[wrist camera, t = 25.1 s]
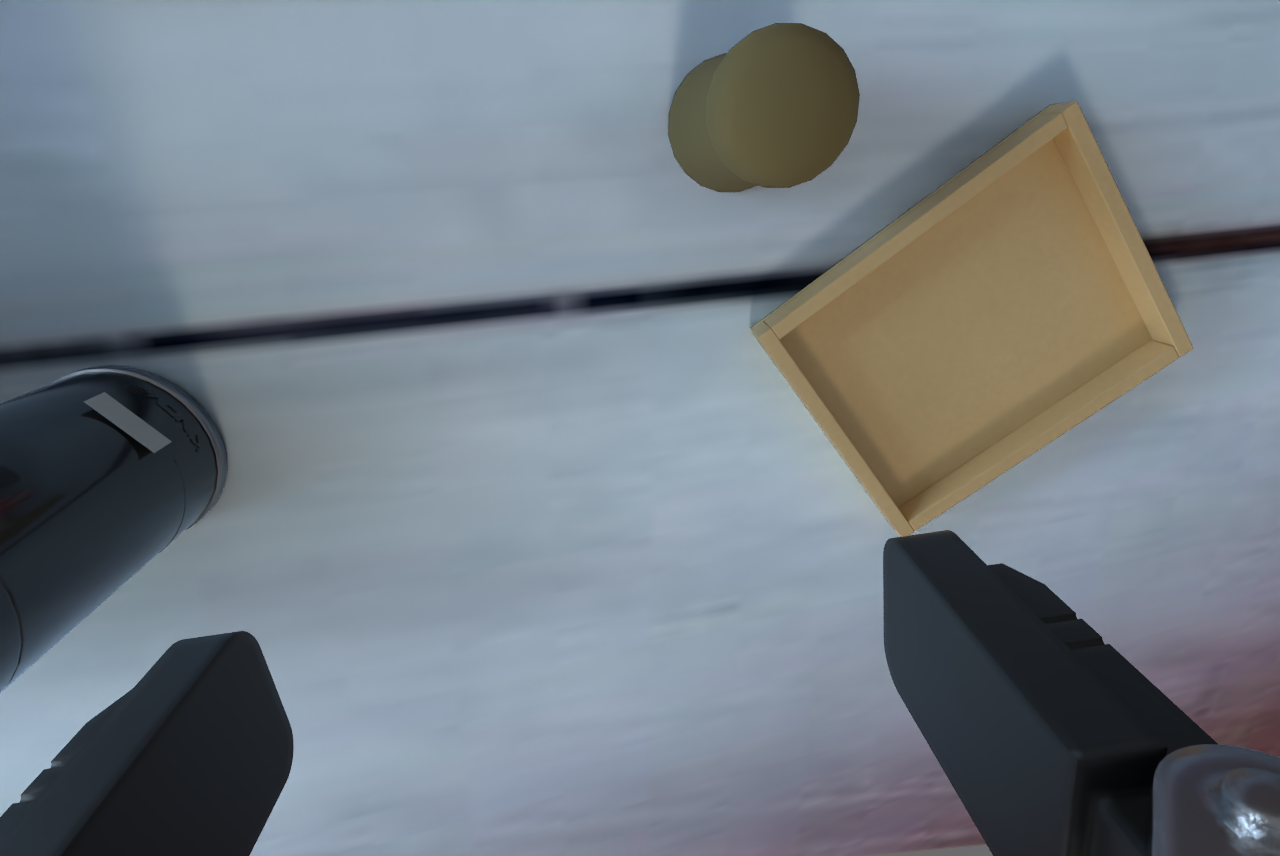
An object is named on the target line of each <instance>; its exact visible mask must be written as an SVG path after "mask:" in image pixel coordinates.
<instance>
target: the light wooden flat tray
mask: <svg viewBox="0 0 1280 856" xmlns="http://www.w3.org/2000/svg"><path fill="white" fill-rule="evenodd" d="M750 331H751V332H752V333H753V335H754V336H755V338H756V339H757V340H758V342H759V343H760V345H761V346H762V347H763V349H764V350H765V351H766V353H767V354H768V356H769V357H770V358H771V360H772V361H773V363H774V364H775V365H776V367H777V368H778V370H779V371H780V372H781V374H782V375H783V377H784V378H785V379H786V381H787V382H788V383H789V385H790V386H791V388H792V389H793V390H794V392H795V393H796V395H797V396H798V397H799V399H800V400H801V402H802V403H803V404H804V406H805V407H806V408H807V410H808V411H809V413H810V414H811V415H812V417H813V418H814V420H815V421H816V422H817V424H818V425H819V427H820V428H821V429H822V431H823V432H824V434H825V435H826V436H827V438H828V439H829V440H830V442H831V443H832V445H833V446H834V447H835V449H836V450H837V452H838V453H839V454H840V456H841V457H842V459H843V460H844V461H845V463H846V464H847V465H848V467H849V468H850V470H851V471H852V472H853V474H854V475H855V477H856V478H857V479H858V481H859V482H860V484H861V485H862V486H863V488H864V489H865V491H866V492H867V493H868V495H869V496H870V497H871V499H872V500H873V502H874V503H875V504H876V506H877V507H878V509H879V510H880V511H881V513H882V514H883V516H884V517H885V518H886V520H887V521H888V522H889V524H890V525H891V526H892V527H893V528H894V530H895V531H896V532H897V533H898V534H899V536H900V537H904V536H908V535H910V534H912V533H913V532H914V530H917V529H919V528H920V527H922V526H924V525H925V524H927V523H928V522H930V521H931V520H933V519H934V518H936V517H937V516H939V515H940V514H942V513H943V512H945V511H946V510H948V509H949V508H951V507H952V506H954V505H956V504H957V503H959V502H960V501H962V500H963V499H965V498H966V497H968V496H969V495H971V494H972V493H974V492H975V491H977V490H978V489H980V488H981V487H983V486H984V485H986V484H988V483H989V482H991V481H992V480H994V479H995V478H997V477H998V476H1000V475H1001V474H1003V473H1004V472H1006V471H1007V470H1009V469H1010V468H1012V467H1013V466H1015V465H1016V464H1018V463H1020V462H1021V461H1023V460H1024V459H1026V458H1027V457H1029V456H1030V455H1032V454H1033V453H1035V452H1036V451H1038V450H1039V449H1041V448H1042V447H1044V446H1045V445H1047V444H1048V443H1050V442H1052V441H1053V440H1055V439H1056V438H1058V437H1059V436H1061V435H1062V434H1064V433H1065V432H1067V431H1068V430H1070V429H1071V428H1073V427H1074V426H1076V425H1077V424H1079V423H1080V422H1082V421H1084V420H1085V419H1087V418H1088V417H1090V416H1091V415H1093V414H1094V413H1096V412H1097V411H1099V410H1100V409H1102V408H1103V407H1105V406H1106V405H1108V404H1109V403H1111V402H1112V401H1114V400H1115V399H1117V398H1119V397H1120V396H1122V395H1123V394H1125V393H1126V392H1128V391H1129V390H1131V389H1132V388H1134V387H1135V386H1137V385H1138V384H1140V383H1141V382H1143V381H1144V380H1146V379H1147V378H1149V377H1151V376H1152V375H1154V374H1155V373H1157V372H1158V371H1160V370H1161V369H1163V368H1164V367H1166V366H1167V365H1169V364H1170V363H1172V362H1173V361H1175V360H1176V359H1178V358H1179V357H1181V356H1183V355H1184V354H1186V353H1187V352H1189V351H1190V350H1192V349H1193V346H1192V344H1191V342H1190V340H1189V337H1188V335H1187V333H1186V331H1185V329H1184V327H1183V325H1182V323H1181V320H1180V318H1179V316H1178V314H1177V312H1176V310H1175V308H1174V306H1173V304H1172V301H1171V299H1170V297H1169V295H1168V293H1167V291H1166V289H1165V287H1164V284H1163V282H1162V280H1161V278H1160V276H1159V274H1158V272H1157V270H1156V267H1155V265H1154V263H1153V261H1152V259H1151V257H1150V255H1149V253H1148V251H1147V248H1146V246H1145V244H1144V242H1143V240H1142V238H1141V236H1140V234H1139V231H1138V229H1137V227H1136V225H1135V223H1134V221H1133V219H1132V217H1131V214H1130V212H1129V210H1128V208H1127V206H1126V204H1125V202H1124V200H1123V198H1122V195H1121V193H1120V191H1119V189H1118V187H1117V185H1116V183H1115V181H1114V178H1113V176H1112V174H1111V172H1110V170H1109V168H1108V166H1107V164H1106V161H1105V159H1104V157H1103V155H1102V153H1101V151H1100V149H1099V147H1098V144H1097V142H1096V140H1095V138H1094V136H1093V134H1092V132H1091V130H1090V128H1089V125H1088V123H1087V121H1086V119H1085V117H1084V115H1083V113H1082V111H1081V108H1080V106H1079V104H1078V102H1077V101H1074V102H1067V103H1060V104H1051V105H1049V106H1048V107H1046V108H1045V109H1044V110H1042V111H1041V112H1040V113H1038V114H1037V115H1036V116H1034V117H1033V118H1032V119H1030V120H1029V121H1028V122H1026V123H1025V124H1024V125H1022V126H1021V127H1020V128H1018V129H1017V130H1016V131H1014V132H1013V133H1012V134H1010V135H1009V136H1008V137H1006V138H1005V139H1004V140H1002V141H1001V142H1000V143H998V144H997V145H995V146H994V147H993V148H991V149H990V150H989V151H987V152H986V153H985V154H983V155H982V156H981V157H979V158H978V159H977V160H975V161H974V162H973V163H971V164H970V165H969V166H967V167H966V168H965V169H963V170H962V171H961V172H959V173H958V174H957V175H955V176H954V177H953V178H951V179H950V180H949V181H947V182H946V183H945V184H943V185H942V186H940V187H939V188H938V189H936V190H935V191H934V192H932V193H931V194H930V195H928V196H927V197H926V198H924V199H923V200H922V201H920V202H919V203H918V204H916V205H915V206H914V207H912V208H911V209H910V210H908V211H907V212H906V213H904V214H903V215H902V216H900V217H899V218H898V219H896V220H895V221H894V222H892V223H891V224H890V225H888V226H887V227H885V228H884V229H883V230H881V231H880V232H879V233H877V234H876V235H875V236H873V237H872V238H871V239H869V240H868V241H867V242H865V243H864V244H863V245H861V246H860V247H859V248H857V249H856V250H855V251H853V252H852V253H851V254H849V255H848V256H847V257H845V258H844V259H843V260H841V261H840V262H839V263H837V264H836V265H835V266H833V267H832V268H830V269H829V270H828V271H826V272H825V273H824V274H822V275H821V276H820V277H818V278H817V279H816V280H814V281H813V282H812V283H810V284H809V285H808V286H806V287H805V288H804V289H802V290H801V291H800V292H798V293H797V294H796V295H794V296H793V297H792V298H790V299H789V300H788V301H786V302H785V303H784V304H782V305H781V306H779V307H778V308H777V309H775V310H774V311H773V312H771V313H770V314H769V315H767V316H766V317H765V318H763V319H762V320H761V321H759V322H758V323H757V324H755V325H754V326H753V327H751V328H750Z"/></svg>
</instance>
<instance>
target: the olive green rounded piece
mask: <svg viewBox="0 0 1280 856" xmlns="http://www.w3.org/2000/svg"><path fill="white" fill-rule="evenodd" d="M859 96H860V94H859V89H858V84H857V79H856V73H855V70H854V68H853V66H852V64H851V62H850V60H849V59H848V57H847V55H846V53H845V51H844V49H843V48H842V47H840V46H839V45H838V44H837V43H836V42H835V41H834V40H833V39H832V38H831V37H830V36H828V35H827V34H826V33H824V32H822V31H819V30H817V29H814V28H811V27H809V26H806V25H804V24H801V23H775V24H772V25H769V26H767V27H764V28H761V29H758V30H755V31H753V32H751V33H750V34H749V35H748V36H746V37H745V38H744V39H742V40H741V41H740V42H739V43H737V44H736V45H735V46H734V47H732V48H731V49H730V50H729V52H728V53H724V54H722V55H719V56H716V57H713V58H710V59H707V60H705V61H703V62H702V63H701V64H700V65H698V66H697V67H696V68H694V69H693V70H692V71H691V72H689V73H688V74H687V76H686V77H685V79H684V80H683V82H682V83H681V84H680V86H679V87H678V89H677V90H676V92H675V95H674V98H673V101H672V104H671V108H670V111H669V125H668V136H669V140H670V143H671V147H672V150H673V154H674V157H675V158H676V160H677V161H678V163H679V164H680V166H681V167H682V169H683V170H684V172H685V173H686V174H687V175H688V176H690V177H691V178H692V179H693V180H695V181H696V182H697V183H698V184H700V185H701V186H704V187H707V188H709V189H712V190H715V191H718V192H740V191H743V190H746V189H749V188H751V187H754V186H757V185H759V186H762V187H766V188H790V187H792V186H795V185H798V184H801V183H804V182H807V181H810V180H812V179H813V178H815V177H816V176H817V175H819V174H820V173H822V172H823V171H824V170H826V169H827V168H828V167H830V166H831V165H832V164H833V162H834V161H835V160H836V159H837V157H838V156H839V155H840V153H841V152H842V151H843V149H844V148H845V147H846V145H847V144H848V142H849V139H850V137H851V134H852V132H853V129H854V127H855V124H856V122H857V116H858V106H859Z"/></svg>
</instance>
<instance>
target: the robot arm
mask: <svg viewBox="0 0 1280 856" xmlns="http://www.w3.org/2000/svg"><path fill="white" fill-rule="evenodd" d="M226 474H227V460H226V453H225V449H224V445H223V442H222V439H221V437H220V434H219V432H218V430H217V428H216V427H215V425H214V423H213V421H212V420H211V419H210V417H209V416H208V414H207V413H206V412H205V411H204V409H203V408H202V407H201V406H200V405H199V404H198V403H197V402H196V401H195V400H194V399H193V398H192V397H191V396H189V395H188V394H187V393H186V392H184V391H183V390H182V389H180V388H179V387H177V386H176V385H174V384H172V383H171V382H169V381H167V380H165V379H163V378H161V377H159V376H157V375H154V374H152V373H149V372H146V371H143V370H139V369H135V368H130V367H124V366H96V367H90V368H86V369H82V370H79V371H76V372H73V373H71V374H68V375H66V376H64V377H61V378H59V379H57V380H55V381H54V382H52V383H51V384H49V385H47V386H44V387H41V388H39V389H36V390H34V391H31V392H29V393H26V394H24V395H21V396H18V397H15V398H13V399H10V400H8V401H5V402H3V403H0V693H1V692H2V691H3V690H5V689H6V688H7V687H8V686H9V685H10V684H11V683H12V682H14V681H15V680H16V679H17V678H18V677H19V676H20V675H21V674H23V673H24V672H25V671H26V670H27V669H28V668H29V667H31V666H32V665H33V664H34V663H35V662H36V661H37V660H38V659H40V658H41V657H42V656H43V655H44V654H45V653H46V652H48V651H49V650H50V649H51V648H52V647H53V646H54V645H55V644H57V643H58V642H59V641H60V640H61V639H62V638H63V637H64V636H66V635H67V634H68V633H69V632H70V631H71V630H72V629H74V628H75V627H76V626H77V625H78V624H79V623H80V622H81V621H83V620H84V619H85V618H86V617H87V616H88V615H89V614H90V613H92V612H93V611H94V610H95V609H96V608H97V607H98V606H100V605H101V604H102V603H103V602H104V601H105V600H106V599H107V598H109V597H110V596H111V595H112V594H113V593H114V592H115V591H116V590H118V589H119V588H120V587H121V586H122V585H123V584H124V583H126V582H127V581H128V580H129V579H130V578H131V577H132V576H133V575H135V574H136V573H137V572H138V571H139V570H140V569H141V568H142V567H144V566H145V565H146V564H147V563H148V562H149V561H150V560H152V559H153V558H154V557H155V556H156V555H157V554H158V553H160V552H161V551H162V550H163V549H164V548H166V547H167V546H168V545H169V544H170V543H171V542H172V541H173V540H174V539H176V538H177V537H178V536H179V535H180V534H181V533H182V532H183V531H185V530H186V529H188V528H190V527H191V526H193V525H194V524H195V523H197V522H198V521H199V520H200V519H201V518H202V517H204V516H205V515H206V514H207V513H208V512H209V511H210V510H211V509H212V508H213V506H214V505H215V504H216V502H217V501H218V499H219V497H220V495H221V493H222V491H223V488H224V485H225V481H226ZM883 583H884V647H885V654H886V659H887V663H888V667H889V671H890V674H891V677H892V680H893V682H894V685H895V687H896V689H897V691H898V693H899V695H900V696H901V698H902V700H903V702H904V703H905V705H906V707H907V708H908V710H909V712H910V714H911V715H912V717H913V719H914V720H915V722H916V724H917V726H918V727H919V729H920V731H921V732H922V734H923V736H924V738H925V739H926V741H927V743H928V744H929V746H930V748H931V750H932V751H933V753H934V755H935V756H936V758H937V760H938V762H939V763H940V765H941V767H942V768H943V770H944V772H945V774H946V775H947V777H948V779H949V780H950V782H951V784H952V786H953V787H954V789H955V791H956V792H957V794H958V796H959V798H960V799H961V801H962V803H963V804H964V806H965V808H966V810H967V811H968V813H969V815H970V816H971V818H972V820H973V822H974V823H975V825H976V827H977V828H978V830H979V832H980V834H981V835H982V837H983V839H984V840H985V842H986V844H987V846H988V847H989V849H990V851H991V852H992V854H993V856H1280V758H1279V757H1276V756H1273V755H1269V754H1266V753H1263V752H1260V751H1256V750H1251V749H1247V748H1242V747H1237V746H1229V745H1221V744H1217V743H1216V742H1215V741H1214V740H1213V739H1212V738H1211V737H1210V736H1209V735H1208V734H1207V733H1205V732H1204V731H1203V730H1202V729H1201V728H1200V727H1199V726H1198V725H1197V724H1196V723H1195V722H1193V721H1192V720H1191V719H1190V718H1189V717H1188V716H1187V715H1186V714H1185V713H1184V712H1183V711H1182V710H1180V709H1179V708H1178V707H1177V706H1176V705H1175V704H1174V703H1173V702H1172V701H1171V700H1170V699H1168V698H1167V697H1166V696H1165V695H1164V694H1163V693H1162V692H1161V691H1160V690H1159V689H1158V688H1157V687H1155V686H1154V685H1153V684H1152V683H1151V682H1150V681H1149V680H1148V679H1147V678H1146V677H1145V676H1143V675H1142V674H1141V673H1140V672H1139V671H1138V670H1137V669H1136V668H1135V667H1134V666H1133V665H1132V664H1130V663H1129V662H1128V661H1127V660H1126V659H1125V658H1124V657H1123V656H1122V655H1121V654H1120V653H1118V652H1117V651H1116V650H1115V649H1114V648H1113V647H1112V646H1111V645H1110V644H1106V645H1105V644H1104V643H1103V640H1102V637H1101V636H1100V635H1099V634H1098V633H1097V632H1096V631H1095V630H1093V629H1092V628H1091V627H1090V626H1089V625H1088V624H1087V623H1086V622H1085V621H1084V620H1083V619H1077V617H1076V613H1075V612H1074V611H1073V610H1072V609H1071V608H1070V607H1068V606H1067V605H1066V604H1065V603H1064V602H1063V601H1062V600H1061V599H1060V598H1059V597H1058V596H1057V595H1055V594H1054V593H1053V592H1052V591H1051V590H1050V589H1049V588H1048V587H1047V586H1046V585H1044V584H1042V583H1040V582H1038V581H1036V580H1034V579H1032V578H1030V577H1028V576H1026V575H1024V574H1022V573H1020V572H1018V571H1016V570H1014V569H1012V568H1010V567H1008V566H1006V565H1004V564H995V565H988V566H987V565H986V564H985V563H984V562H983V561H982V560H981V559H980V558H979V557H978V556H977V555H976V554H975V553H974V552H973V551H972V550H971V549H970V548H969V547H968V546H967V545H966V544H965V543H964V542H963V541H962V540H961V539H960V538H959V537H958V536H957V535H956V534H955V533H954V532H952V531H949V530H945V531H938V532H931V533H925V534H918V535H911V536H904V537H897V538H891V539H888V540H887V542H886V544H885V547H884V554H883ZM292 759H293V734H292V729H291V726H290V723H289V720H288V718H287V715H286V713H285V710H284V707H283V705H282V702H281V700H280V697H279V694H278V692H277V689H276V687H275V684H274V681H273V679H272V676H271V674H270V671H269V669H268V666H267V663H266V661H265V658H264V656H263V653H262V650H261V648H260V646H259V644H258V642H257V640H256V639H255V637H254V636H253V635H252V634H250V633H248V632H245V631H239V632H232V633H225V634H218V635H211V636H204V637H198V638H191V639H184V640H180V641H177V642H176V643H174V644H173V645H172V646H171V647H170V648H169V649H168V650H167V651H166V652H165V653H164V654H163V655H162V656H161V658H160V659H159V660H158V661H157V662H156V663H155V664H154V665H153V667H152V668H151V669H150V670H149V671H148V672H147V673H146V675H145V676H144V677H143V678H142V679H141V680H140V681H139V682H138V684H137V685H136V686H135V687H134V688H133V689H132V690H130V691H129V692H128V693H126V694H125V695H124V696H122V697H121V698H120V699H118V700H117V701H116V702H114V703H113V704H112V705H110V706H109V707H107V708H106V709H105V710H103V711H102V712H101V713H99V714H98V715H97V716H95V717H94V718H93V719H91V720H90V721H89V722H87V723H86V724H85V725H84V726H83V727H82V728H81V730H80V731H79V732H78V733H77V734H76V735H75V736H74V737H73V738H72V739H71V741H70V742H69V743H68V744H67V745H66V746H65V747H64V748H63V749H62V750H61V751H60V753H59V754H58V755H57V756H56V757H55V758H54V759H53V760H52V761H51V763H52V766H51V768H50V769H45V770H43V771H42V772H41V773H40V774H39V776H38V777H37V778H36V779H35V780H34V781H33V782H32V783H31V784H30V785H29V786H28V788H27V789H26V790H25V791H24V792H23V793H22V794H21V801H20V803H15V804H12V805H11V806H10V807H9V808H8V809H7V811H6V812H5V813H4V814H3V815H2V816H1V817H0V856H249V855H250V853H251V851H252V849H253V847H254V845H255V843H256V841H257V839H258V837H259V835H260V833H261V831H262V829H263V827H264V825H265V823H266V821H267V819H268V817H269V815H270V813H271V811H272V809H273V807H274V805H275V803H276V801H277V799H278V797H279V795H280V793H281V791H282V789H283V787H284V785H285V783H286V781H287V779H288V776H289V773H290V770H291V765H292Z"/></svg>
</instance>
